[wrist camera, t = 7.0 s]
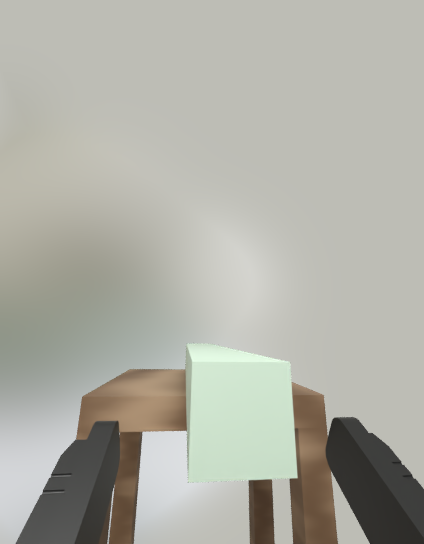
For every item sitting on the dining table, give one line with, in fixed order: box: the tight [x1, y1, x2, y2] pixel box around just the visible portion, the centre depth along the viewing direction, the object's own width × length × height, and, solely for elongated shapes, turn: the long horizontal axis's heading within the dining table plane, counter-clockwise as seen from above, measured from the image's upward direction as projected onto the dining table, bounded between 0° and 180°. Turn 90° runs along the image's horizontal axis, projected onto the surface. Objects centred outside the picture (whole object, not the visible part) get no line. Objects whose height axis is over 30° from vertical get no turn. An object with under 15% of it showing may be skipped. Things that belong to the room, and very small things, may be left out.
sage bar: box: [185, 344, 298, 483], centre depth 18 cm, size 3×24×3 cm, turn 6°
